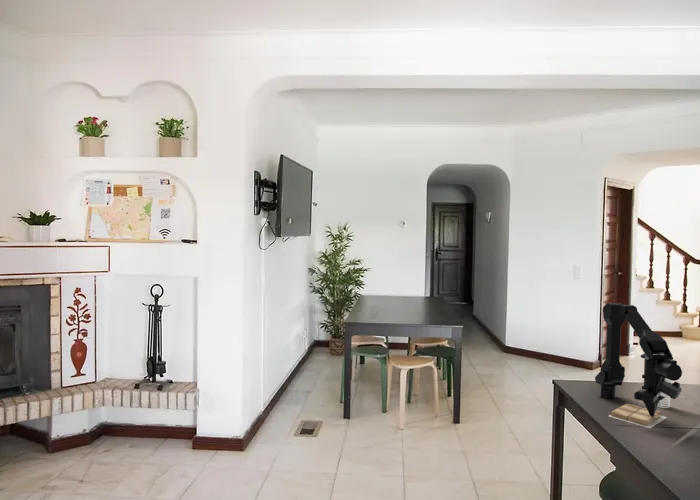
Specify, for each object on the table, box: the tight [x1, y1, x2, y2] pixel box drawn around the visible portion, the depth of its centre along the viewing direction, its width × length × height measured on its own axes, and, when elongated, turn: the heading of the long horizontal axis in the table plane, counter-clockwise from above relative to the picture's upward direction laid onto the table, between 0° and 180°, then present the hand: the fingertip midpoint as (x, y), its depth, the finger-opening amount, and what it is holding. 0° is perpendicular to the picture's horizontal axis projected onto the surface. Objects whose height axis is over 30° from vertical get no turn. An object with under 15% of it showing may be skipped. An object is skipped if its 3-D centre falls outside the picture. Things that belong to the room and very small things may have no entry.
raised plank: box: [628, 407, 662, 425], centre depth 184 cm, size 15×6×2 cm, turn 131°
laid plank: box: [610, 403, 643, 421], centre depth 188 cm, size 15×6×2 cm, turn 131°
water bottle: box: [653, 354, 674, 409], centre depth 199 cm, size 7×7×25 cm
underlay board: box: [608, 414, 668, 429], centre depth 185 cm, size 17×14×1 cm
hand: (652, 415), depth 182 cm, fingers closed, pressing on raised plank
